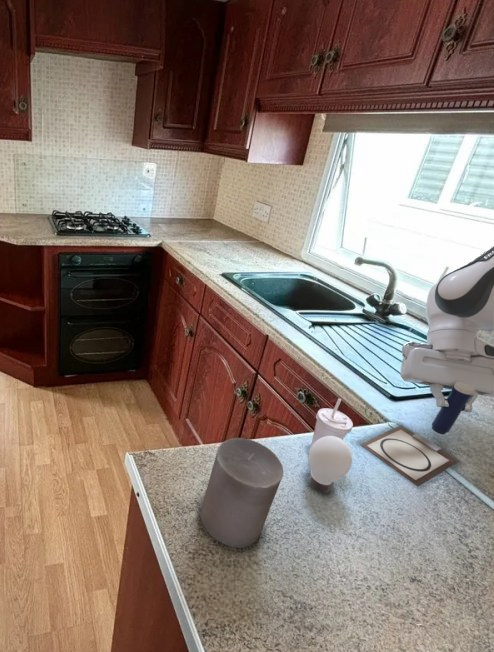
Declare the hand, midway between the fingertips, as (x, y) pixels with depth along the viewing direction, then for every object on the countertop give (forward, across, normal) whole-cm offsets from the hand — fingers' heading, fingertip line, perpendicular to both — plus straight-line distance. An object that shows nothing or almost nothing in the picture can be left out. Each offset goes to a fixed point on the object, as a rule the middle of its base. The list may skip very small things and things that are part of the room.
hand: (454, 409), depth 87 cm
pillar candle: (+31, -48, -19) cm, 60 cm away
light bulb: (+22, -31, -10) cm, 39 cm away
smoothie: (+16, -29, -4) cm, 33 cm away
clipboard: (+11, -9, 0) cm, 15 cm away
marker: (+4, 0, +5) cm, 7 cm away
